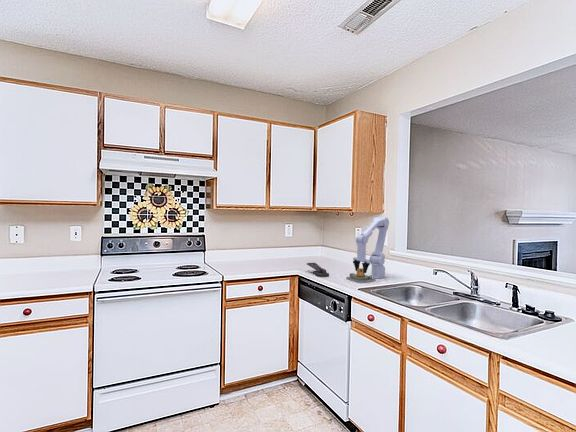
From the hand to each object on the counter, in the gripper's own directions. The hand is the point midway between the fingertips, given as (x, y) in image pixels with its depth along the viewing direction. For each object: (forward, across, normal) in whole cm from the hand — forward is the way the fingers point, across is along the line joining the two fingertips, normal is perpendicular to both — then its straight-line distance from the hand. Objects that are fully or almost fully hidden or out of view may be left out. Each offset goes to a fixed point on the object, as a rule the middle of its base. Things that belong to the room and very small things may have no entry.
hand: (360, 272), depth 229 cm
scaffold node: (+6, -2, 0) cm, 6 cm away
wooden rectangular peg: (+6, 0, 0) cm, 6 cm away
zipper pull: (+6, -31, -14) cm, 35 cm away
